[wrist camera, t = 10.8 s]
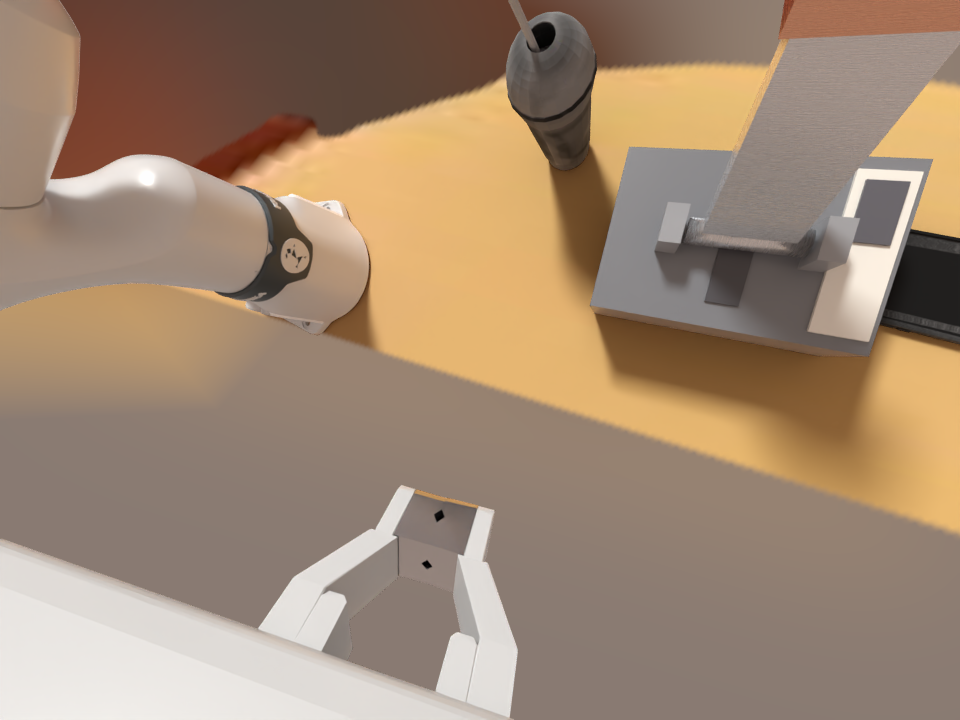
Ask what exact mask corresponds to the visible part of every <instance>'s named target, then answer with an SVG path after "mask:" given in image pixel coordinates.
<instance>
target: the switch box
mask: <svg viewBox="0 0 960 720" xmlns="http://www.w3.org/2000/svg"><path fill="white" fill-rule="evenodd" d="M732 152H733V151H719V150H695V149H670V148H646V147H629V150H628V154H627V158H626V162H625V166H624V170H623V174H622V178H621V182H620V186H619V190H618V194H617V198H616V202H615V206H614V211H613V215H612V219H611V223H610V227H609V231H608V235H607V239H606V243H605V247H604V251H603V255H602V259H601V263H600V267H599V271H598V275H597V279H596V283H595V287H594V291H593V295H592V299H591V303H590V306H591V308H592V310H593V312H594V313H595V314H601V315H606V316H611V317H616V318H622V319H627V320H632V321H637V322H643V323H648V324H653V325H658V326H664V327H669V328H674V329H679V330H685V331H690V332H695V333H700V334H706V335H711V336H716V337H721V338H727V339H732V340H737V341H742V342H747V343H753V344H758V345H763V346H768V347H774V348H779V349H784V350H789V351H795V352H800V353H805V354H810V355H816V356H850V357H869V355H870V352H871V349H872V346H873V342H874V339H875V336H876V333H877V330H878V327H879V324H880V321H881V318H882V315H883V312H884V309H885V306H886V302H887V299H888V296H889V293H890V290H891V287H892V284H893V281H894V278H895V275H896V272H897V269H898V266H899V263H900V259H901V256H902V253H903V250H904V247H905V244H906V241H907V238H908V235H909V232H910V229H911V226H912V223H913V220H914V216H915V213H916V210H917V207H918V204H919V201H920V198H921V195H922V192H923V189H924V186H925V183H926V180H927V177H928V173H929V170H930V167H931V164H932V161H933V159H915V158H891V157H867V159H866V160H865V161H864V162H863V164H862V165H861V166H860V167H859V169H858V170H857V171H856V172H855V173H854V175H853V176H852V177H851V178H850V180H849V181H848V182H847V183H846V185H845V186H844V187H843V188H842V189H841V191H840V192H839V193H838V194H837V196H836V197H835V198H834V199H833V201H832V202H831V203H830V204H829V205H828V207H827V208H826V209H825V210H824V212H823V213H822V214H821V215H820V217H819V218H818V219H817V220H816V221H815V223H814V224H813V225H812V226H811V228H810V229H815V230H816V237H815V240H814V243H813V245H812V247H811V249H810V251H809V252H808V254H807V255H806V256H805V257H803V258H801V257H793V256H784V255H776V254H767V253H759V252H751V251H742V250H734V249H725V248H717V247H708V246H700V245H692V244H683V243H682V242H683V237H684V233H685V230H686V227H687V224H688V221H689V218H690V217H696V218H705V217H706V212H707V210H708V208H709V206H710V203H711V201H712V199H713V196H714V194H715V192H716V189H717V187H718V185H719V182H720V180H721V178H722V175H723V173H724V171H725V168H726V166H727V164H728V161H729V159H730V157H731V154H732Z"/></svg>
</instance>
